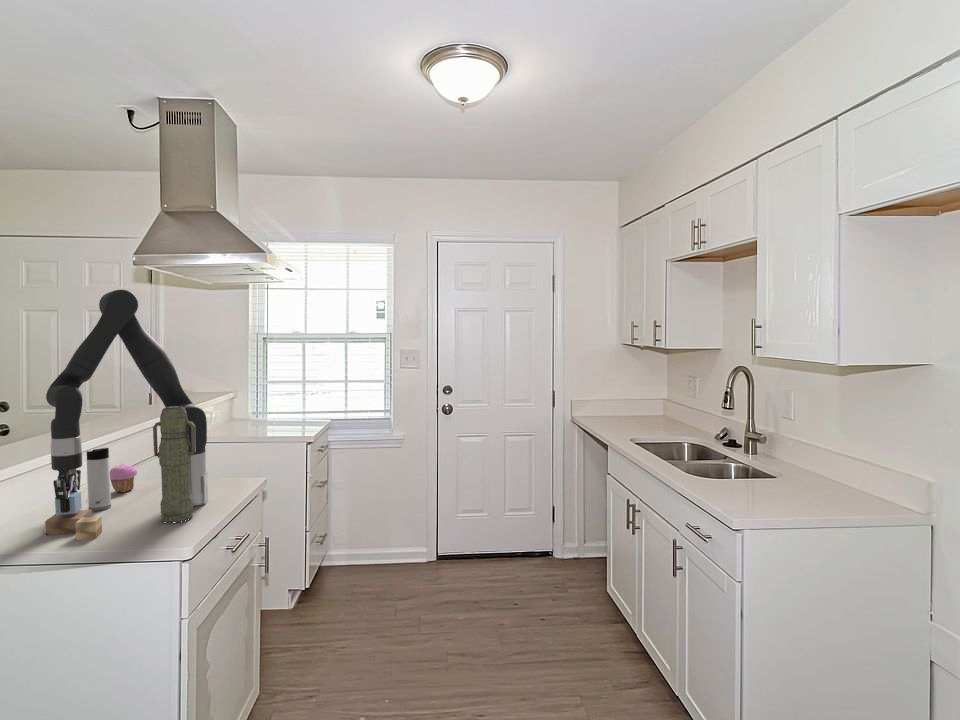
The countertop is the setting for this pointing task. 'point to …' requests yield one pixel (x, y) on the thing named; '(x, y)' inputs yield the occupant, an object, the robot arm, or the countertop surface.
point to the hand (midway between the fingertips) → (69, 509)
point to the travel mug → (98, 479)
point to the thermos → (175, 463)
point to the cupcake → (123, 477)
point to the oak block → (88, 527)
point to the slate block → (74, 503)
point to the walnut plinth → (65, 522)
